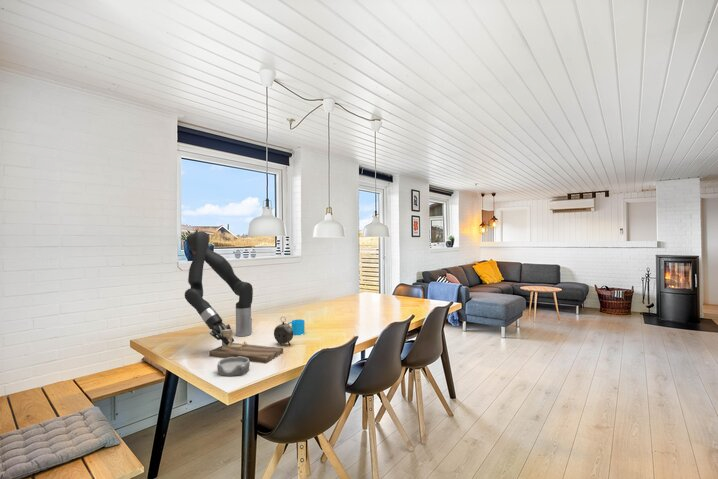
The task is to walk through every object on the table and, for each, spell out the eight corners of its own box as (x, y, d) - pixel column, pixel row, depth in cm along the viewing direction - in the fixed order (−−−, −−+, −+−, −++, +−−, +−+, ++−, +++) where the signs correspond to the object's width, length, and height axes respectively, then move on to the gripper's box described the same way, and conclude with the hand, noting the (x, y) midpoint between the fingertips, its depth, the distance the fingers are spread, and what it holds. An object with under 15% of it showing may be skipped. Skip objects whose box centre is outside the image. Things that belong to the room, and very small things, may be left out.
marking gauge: (234, 344, 192) (234, 325, 192) (250, 345, 189) (250, 327, 189) (221, 349, 182) (221, 330, 182) (238, 351, 179) (238, 332, 179)
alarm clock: (293, 345, 198) (293, 316, 198) (288, 347, 193) (287, 318, 193) (278, 342, 203) (278, 314, 203) (272, 345, 198) (272, 316, 198)
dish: (249, 375, 154) (249, 364, 154) (215, 379, 151) (215, 367, 151) (249, 364, 168) (249, 353, 168) (219, 367, 164) (219, 356, 164)
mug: (305, 332, 226) (305, 319, 226) (302, 335, 218) (302, 322, 218) (287, 331, 227) (287, 319, 227) (284, 335, 219) (284, 322, 219)
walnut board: (229, 346, 195) (229, 342, 195) (283, 352, 184) (283, 348, 184) (208, 356, 179) (208, 351, 179) (266, 363, 169) (266, 358, 169)
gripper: (205, 316, 179) (225, 342, 175) (224, 310, 192) (243, 334, 188) (197, 325, 180) (217, 351, 176) (216, 319, 194) (234, 343, 190)
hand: (230, 342), depth 182 cm, fingers closed on marking gauge, 3 cm apart
